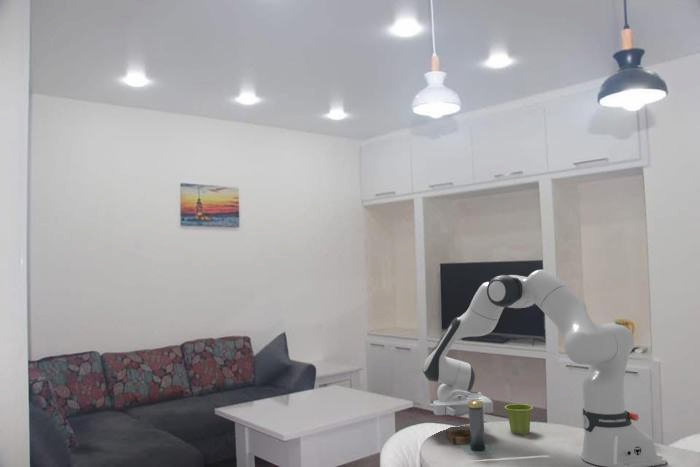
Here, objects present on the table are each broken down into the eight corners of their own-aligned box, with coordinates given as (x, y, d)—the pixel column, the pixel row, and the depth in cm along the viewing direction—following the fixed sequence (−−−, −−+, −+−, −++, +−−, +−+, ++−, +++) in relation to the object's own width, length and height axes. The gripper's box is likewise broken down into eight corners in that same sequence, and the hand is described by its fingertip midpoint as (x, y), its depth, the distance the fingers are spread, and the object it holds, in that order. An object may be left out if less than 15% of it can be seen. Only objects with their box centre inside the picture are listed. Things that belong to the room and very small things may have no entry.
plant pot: (500, 432, 200) (499, 407, 200) (517, 427, 205) (515, 402, 206) (523, 438, 192) (521, 411, 193) (539, 432, 198) (538, 406, 199)
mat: (487, 445, 185) (487, 444, 185) (496, 454, 176) (496, 452, 176) (460, 447, 184) (460, 445, 184) (468, 456, 175) (468, 454, 176)
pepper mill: (483, 446, 183) (480, 399, 184) (487, 450, 178) (485, 403, 179) (468, 447, 183) (465, 400, 184) (472, 451, 178) (470, 403, 179)
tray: (476, 436, 196) (475, 428, 196) (484, 444, 187) (483, 436, 187) (447, 438, 195) (446, 430, 195) (453, 446, 186) (453, 438, 186)
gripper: (427, 394, 201) (437, 404, 188) (485, 391, 203) (498, 401, 189) (428, 413, 201) (437, 423, 187) (485, 410, 203) (499, 420, 189)
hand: (468, 412), depth 188 cm, fingers open, 8 cm apart
